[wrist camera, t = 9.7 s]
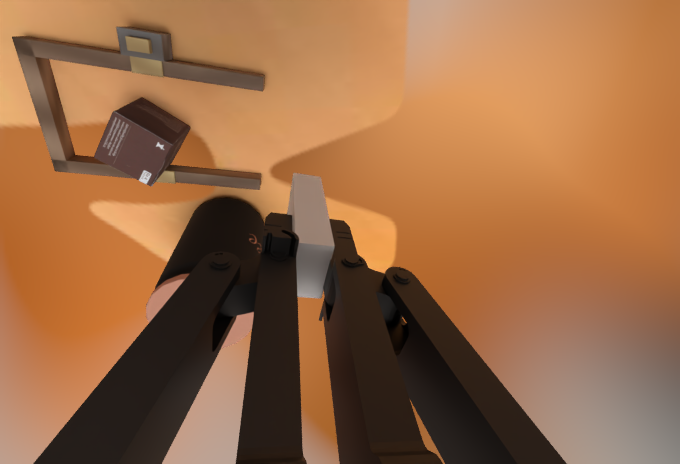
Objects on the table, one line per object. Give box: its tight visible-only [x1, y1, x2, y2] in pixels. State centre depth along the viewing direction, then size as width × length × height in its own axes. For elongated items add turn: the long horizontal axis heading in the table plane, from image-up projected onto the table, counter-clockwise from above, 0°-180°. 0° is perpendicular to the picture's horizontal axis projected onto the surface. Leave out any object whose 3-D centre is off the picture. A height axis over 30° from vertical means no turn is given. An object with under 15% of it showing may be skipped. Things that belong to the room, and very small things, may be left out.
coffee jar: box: [146, 198, 265, 348], centre depth 40 cm, size 11×11×18 cm
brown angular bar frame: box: [12, 27, 265, 190], centre depth 36 cm, size 17×24×4 cm
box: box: [94, 98, 190, 186], centre depth 36 cm, size 6×6×7 cm
